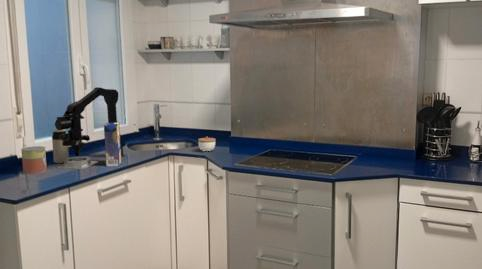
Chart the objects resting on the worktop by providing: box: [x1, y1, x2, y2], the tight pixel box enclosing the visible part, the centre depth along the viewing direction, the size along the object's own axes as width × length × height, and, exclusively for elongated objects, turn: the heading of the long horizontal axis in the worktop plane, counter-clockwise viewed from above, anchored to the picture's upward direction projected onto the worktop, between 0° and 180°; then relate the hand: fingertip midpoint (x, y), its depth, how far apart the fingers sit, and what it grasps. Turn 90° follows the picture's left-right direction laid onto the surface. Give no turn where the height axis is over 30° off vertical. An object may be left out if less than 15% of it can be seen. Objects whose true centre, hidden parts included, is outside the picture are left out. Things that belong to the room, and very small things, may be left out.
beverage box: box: [103, 122, 122, 167], centre depth 252 cm, size 7×11×22 cm, turn 9°
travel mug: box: [51, 129, 70, 164], centre depth 258 cm, size 8×8×18 cm
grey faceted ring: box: [56, 156, 99, 170], centre depth 251 cm, size 16×16×3 cm
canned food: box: [20, 145, 48, 175], centre depth 237 cm, size 11×11×12 cm
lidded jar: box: [197, 136, 216, 152], centre depth 285 cm, size 11×11×9 cm
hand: (77, 156), depth 250 cm, fingers closed
